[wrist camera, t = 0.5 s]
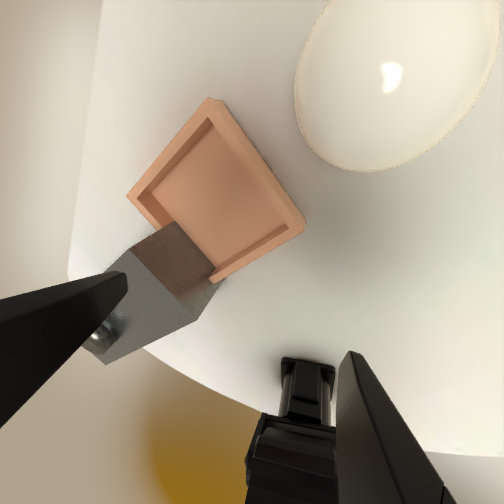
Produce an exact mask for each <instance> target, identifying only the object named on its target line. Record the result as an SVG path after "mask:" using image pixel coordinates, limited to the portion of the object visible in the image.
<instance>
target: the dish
mask: <svg viewBox="0 0 504 504" xmlns="http://www.w3.org/2000/svg"><path fill="white" fill-rule="evenodd" d="M126 197H127V198H128V199H129V200H130V201H131V202H132V204H133V205H134V206H135V207H136V208H137V209H138V210H139V211H140V212H141V214H142V215H143V216H144V217H145V218H146V219H147V220H148V221H149V222H150V224H151V225H152V226H153V227H154V228H155V229H156V230H157V231H158V230H160V229H162V228H163V227H165V226H166V225H168V224H170V223H171V222H173V221H174V220H175V221H176V222H177V223H178V224H179V226H180V227H181V228H182V229H183V230H184V231H185V232H186V234H187V235H188V236H189V237H190V238H191V239H192V241H193V242H194V243H195V244H196V245H197V246H198V247H199V249H200V250H201V251H202V252H203V253H204V254H205V256H206V257H207V258H208V259H209V260H210V261H211V263H212V264H213V265H214V266H215V267H216V269H215V270H214V272H213V273H212V274H211V276H210V277H209V278H208V279H209V280H210V281H211V282H212V283H213V284H215V283H216V282H218V281H220V280H221V279H223V278H225V277H227V276H228V275H230V274H232V273H233V272H235V271H237V270H238V269H240V268H242V267H244V266H245V265H247V264H249V263H250V262H252V261H254V260H256V259H257V258H259V257H261V256H262V255H264V254H266V253H268V252H269V251H271V250H273V249H274V248H276V247H278V246H280V245H281V244H283V243H285V242H286V241H288V240H290V239H292V238H293V237H295V236H297V235H298V234H300V233H302V232H304V227H305V222H306V220H305V219H304V217H303V216H302V214H301V213H300V211H299V210H298V209H297V207H296V206H295V204H294V203H293V202H292V200H291V199H290V197H289V196H288V194H287V193H286V192H285V190H284V189H283V187H282V186H281V184H280V183H279V182H278V180H277V179H276V177H275V176H274V175H273V173H272V172H271V170H270V169H269V167H268V166H267V165H266V163H265V162H264V160H263V159H262V157H261V156H260V155H259V153H258V152H257V150H256V149H255V148H254V146H253V145H252V143H251V142H250V140H249V139H248V138H247V136H246V135H245V133H244V132H243V130H242V129H241V128H240V126H239V125H238V123H237V122H236V121H235V119H234V118H233V116H232V115H231V113H230V112H229V111H228V109H227V108H226V106H225V105H224V103H223V102H222V101H220V100H216V99H213V98H209V97H207V99H206V100H205V101H204V102H203V103H202V105H201V106H200V107H199V108H198V109H197V111H196V112H195V113H194V114H193V115H192V117H191V118H190V119H189V120H188V122H187V123H186V124H185V125H184V126H183V128H182V129H181V130H180V131H179V132H178V134H177V135H176V136H175V137H174V138H173V140H172V141H171V142H170V143H169V144H168V146H167V147H166V148H165V149H164V151H163V152H162V153H161V154H160V155H159V157H158V158H157V159H156V160H155V161H154V163H153V164H152V165H151V166H150V167H149V169H148V170H147V171H146V172H145V174H144V175H143V176H142V177H141V178H140V180H139V181H138V182H137V183H136V184H135V186H134V187H133V188H132V189H131V190H130V192H129V193H128V194H127V195H126Z"/></svg>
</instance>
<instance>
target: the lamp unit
mask: <svg viewBox="0 0 504 504" xmlns="http://www.w3.org/2000/svg"><path fill="white" fill-rule="evenodd" d="M215 269H216V267H215V266H214V265H213V264H212V263H211V261H210V260H209V259H208V258H207V257H206V256H205V254H204V253H203V252H202V251H201V250H200V249H199V247H198V246H197V245H196V244H195V243H194V242H193V241H192V239H191V238H190V237H189V236H188V235H187V234H186V232H185V231H184V230H183V229H182V228H181V227H180V226H179V224H178V223H177V222H176V221H175V220H174V221H173V222H171V223H170V224H168V225H166V226H165V227H163V228H162V229H160V230H158V231H157V232H155V233H153V234H152V235H150V236H149V237H147V238H145V239H144V240H142V241H141V242H139V243H137V244H136V245H134V246H132V247H131V248H129V249H128V250H127V251H126V252H125V253H124V254H123V255H122V256H121V257H120V258H119V259H118V260H116V261H115V262H114V263H113V264H112V265H111V266H110V267H109V268H108V269H107V270H106V271H105V272H104V273H106V272H110V271H114V270H118V271H121V272H124V273H126V275H127V281H128V292H127V294H126V295H125V296H124V298H123V299H122V300H121V301H120V303H119V304H118V305H117V306H116V308H115V309H114V310H113V311H112V312H111V314H110V315H109V316H108V317H107V319H106V320H105V321H104V322H103V323H102V325H101V326H100V327H99V328H98V329H97V330H96V331H95V332H94V333H93V334H92V335H91V336H90V337H89V338H88V339H87V340H86V341H85V342H84V343H83V344H82V345H81V346H82V347H83V348H85V349H86V350H88V351H90V352H91V353H93V355H95V356H96V357H97V358H98V359H99V360H100V361H101V362H103V363H104V364H105V365H107V364H109V363H111V362H113V361H115V360H117V359H119V358H121V357H123V356H125V355H127V354H129V353H131V352H133V351H136V350H138V349H140V348H142V347H144V346H146V345H148V344H150V343H152V342H154V341H156V340H158V339H160V338H162V337H164V336H166V335H168V334H170V333H172V332H174V331H176V330H178V329H180V328H182V327H184V326H186V325H188V324H190V323H192V322H194V321H196V320H197V319H198V318H199V316H200V315H201V313H202V312H203V310H204V309H205V307H206V306H207V304H208V303H209V301H210V300H211V298H212V296H213V295H214V293H215V292H216V290H217V289H218V287H219V286H220V284H221V283H222V281H223V280H224V278H223V279H221V280H220V281H218V282H216V283H215V284H213V283H212V282H211V281H210V280H209V279H208V278H209V277H210V276H211V274H212V273H213V272H214V270H215Z"/></svg>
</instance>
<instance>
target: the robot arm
mask: <svg viewBox="0 0 504 504" xmlns="http://www.w3.org/2000/svg"><path fill="white" fill-rule="evenodd" d="M127 292H128V281H127V275H126V273H124V272H121V271H118V270H114V271H110V272H106V273H102V274H98V275H94V276H90V277H86V278H83V279H79V280H75V281H71V282H67V283H63V284H59V285H55V286H51V287H47V288H43V289H40V290H36V291H32V292H28V293H24V294H20V295H16V296H12V297H8V298H5V299H1V300H0V428H1V427H2V426H3V425H4V424H5V423H6V422H7V421H8V420H9V419H10V418H11V417H12V416H13V415H14V414H15V413H16V412H17V411H18V410H19V409H20V408H21V407H22V406H23V405H24V404H25V403H26V402H27V401H28V400H29V399H30V398H31V397H32V396H33V394H34V393H35V392H36V391H37V390H38V389H39V388H40V387H41V386H42V385H43V384H44V383H45V382H46V381H47V380H48V379H49V378H50V377H51V376H52V375H53V374H54V373H55V372H56V371H57V370H58V369H59V368H60V367H61V366H62V365H63V364H64V363H65V362H66V361H67V360H68V359H69V358H70V357H71V355H72V354H73V353H74V352H75V351H76V350H77V349H78V348H79V347H80V346H81V345H82V344H83V343H84V342H85V341H86V340H87V339H88V338H89V337H90V336H91V335H92V334H93V333H94V332H95V331H96V330H97V329H98V328H99V327H100V326H101V325H102V323H103V322H104V321H105V320H106V319H107V317H108V316H109V315H110V314H111V312H112V311H113V310H114V309H115V308H116V306H117V305H118V304H119V303H120V301H121V300H122V299H123V298H124V296H125V295H126V294H127ZM281 380H282V395H281V401H280V408H279V414H278V416H275V415H269V414H267V413H264V412H262V415H261V418H260V419H259V421H258V424H257V427H256V430H255V433H254V436H253V438H252V441H251V444H250V447H249V450H248V453H247V455H246V457H245V466H246V484H247V487H248V491H247V496H246V500H245V504H457V502H456V501H455V499H454V498H453V496H452V495H451V493H450V492H449V490H448V489H447V487H446V486H444V482H443V481H442V480H441V478H440V476H439V474H438V473H437V471H436V470H435V468H434V467H433V465H432V464H431V462H430V460H429V459H428V458H427V456H426V454H425V453H424V451H423V449H422V448H421V446H420V445H419V443H418V442H417V440H416V438H415V437H414V435H413V434H412V432H411V431H410V429H409V427H408V426H407V424H406V423H405V421H404V420H403V418H402V416H401V415H400V413H399V412H398V410H397V409H396V407H395V405H394V404H393V402H392V401H391V399H390V398H389V396H388V395H387V393H386V391H385V390H384V388H383V387H382V385H381V384H380V382H379V380H378V379H377V377H376V376H375V374H374V373H373V371H372V369H371V368H370V366H369V365H368V363H367V362H366V360H365V358H364V357H363V356H362V355H361V354H359V353H357V352H354V351H348V352H347V354H346V356H345V357H344V359H343V361H342V362H341V364H340V367H339V374H338V388H337V403H336V427H333V426H331V408H330V401H331V399H332V393H333V386H334V380H335V368H334V367H331V366H326V365H321V364H315V363H310V362H305V361H299V360H294V359H289V358H282V361H281Z"/></svg>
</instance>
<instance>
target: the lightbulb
mask: <svg viewBox="0 0 504 504" xmlns="http://www.w3.org/2000/svg"><path fill="white" fill-rule="evenodd" d="M500 28H501V20H500V8H499V3H498V0H331V1H330V2H329V3H328V5H327V6H326V7H325V9H324V10H323V12H322V13H321V15H320V16H319V18H318V19H317V21H316V23H315V24H314V26H313V28H312V30H311V32H310V34H309V36H308V38H307V40H306V43H305V45H304V47H303V50H302V53H301V56H300V59H299V63H298V67H297V71H296V77H295V86H294V103H295V111H296V117H297V121H298V124H299V127H300V129H301V132H302V134H303V136H304V138H305V140H306V141H307V143H308V144H309V146H310V147H311V148H312V149H313V151H314V152H315V153H316V154H317V155H318V156H320V157H321V158H322V159H323V160H325V161H326V162H328V163H330V164H331V165H334V166H336V167H338V168H341V169H344V170H348V171H354V172H375V171H382V170H386V169H390V168H393V167H396V166H399V165H402V164H404V163H407V162H409V161H411V160H413V159H415V158H417V157H419V156H420V155H422V154H424V153H425V152H427V151H428V150H430V149H431V148H433V147H434V146H435V145H437V144H438V143H439V142H440V141H441V140H443V139H444V138H445V137H446V136H447V135H448V134H449V133H450V132H451V131H452V130H453V129H454V128H455V127H456V126H457V125H458V124H459V123H460V122H461V121H462V120H463V118H464V117H465V116H466V115H467V113H468V112H469V111H470V109H471V108H472V107H473V105H474V104H475V102H476V100H477V99H478V97H479V96H480V94H481V92H482V90H483V88H484V86H485V84H486V82H487V80H488V78H489V75H490V73H491V70H492V68H493V65H494V62H495V58H496V55H497V51H498V46H499V40H500Z"/></svg>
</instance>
